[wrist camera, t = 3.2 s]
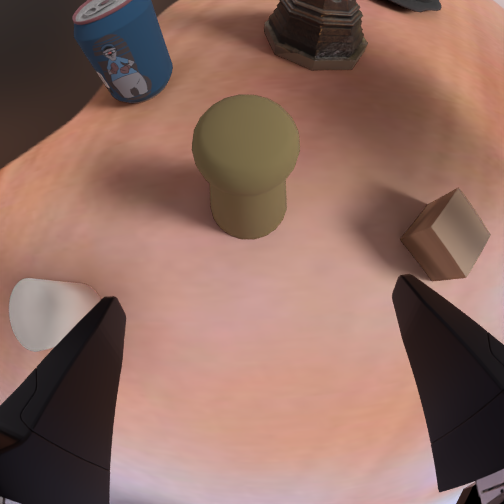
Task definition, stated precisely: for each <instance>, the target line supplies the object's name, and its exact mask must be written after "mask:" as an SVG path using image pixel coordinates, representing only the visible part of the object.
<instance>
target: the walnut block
mask: <svg viewBox="0 0 504 504" xmlns="http://www.w3.org/2000/svg"><path fill="white" fill-rule="evenodd" d="M489 237H490V233H489V231H488V230H487V228H486V227H485V225H484V223H483V222H482V220H481V219H480V217H479V216H478V214H477V213H476V211H475V210H474V208H473V207H472V205H471V204H470V202H469V201H468V200H467V198H466V197H465V195H464V194H463V193H462V191H461V190H460V189H459V187H458V188H457V189H455V190H453V191H451V192H449V193H448V194H446V195H444V196H442V197H440V198H439V199H437V200H435V201H433V202H431V203H430V204H428V205H427V206H426V208H425V209H424V210H423V211H422V213H421V214H420V215H419V217H418V218H417V219H416V220H415V222H414V223H413V224H412V225H411V226H410V228H409V229H408V230H407V231H406V233H405V234H404V235H403V236H402V237H401V239H400V240H401V241H402V243H403V244H404V245H405V246H406V248H407V249H408V250H409V251H410V253H411V254H412V255H413V256H414V258H415V259H416V260H417V262H418V263H419V264H420V266H421V267H422V268H423V270H424V271H425V272H426V274H427V275H428V276H429V278H430V279H431V280H432V281H440V280H450V279H460V278H467V276H468V274H469V273H470V271H471V269H472V268H473V266H474V264H475V263H476V261H477V259H478V257H479V256H480V254H481V252H482V250H483V248H484V246H485V245H486V243H487V241H488V239H489Z"/></svg>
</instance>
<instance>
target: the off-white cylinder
mask: <svg viewBox="0 0 504 504" xmlns="http://www.w3.org/2000/svg"><path fill="white" fill-rule="evenodd" d="M100 300H101V299H100V297H99V295H98V294H97V292H96V291H95V290H94V289H93V288H92V287H90V286H89V285H87V284H84V283H74V282H63V281H53V280H43V279H34V278H25V279H22V280H20V281H19V282H18V283H17V284H16V285H15V287H14V289H13V291H12V293H11V296H10V301H9V318H10V323H11V327H12V330H13V332H14V334H15V336H16V338H17V339H18V341H19V342H20V343H21V344H22V346H24V347H25V348H26V349H28V350H30V351H34V352H37V351H42V350H46V349H50V348H54V347H55V346H56V345H57V344H58V343H59V342H60V341H61V340H62V339H63V338H64V337H65V336H66V335H67V334H68V333H69V331H70V330H71V329H72V328H73V327H74V326H75V325H76V324H77V323H78V322H79V321H80V320H81V319H82V318H83V317H84V316H85V315H86V314H87V313H88V312H89V311H90V310H91V309H92V308H93V307H94V306H95V305H96V304H97V303H98V302H99V301H100Z"/></svg>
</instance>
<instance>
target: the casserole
mask: <svg viewBox="0 0 504 504" xmlns="http://www.w3.org/2000/svg"><path fill="white" fill-rule="evenodd" d="M389 1H391V2H393V3H395V4H397V5H400V6H402V7H405V8H407V9H410V10H412V11H417V12H422V11H426V10H433V11H438V10H440V9H441V4H440V2H439V0H389Z"/></svg>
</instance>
